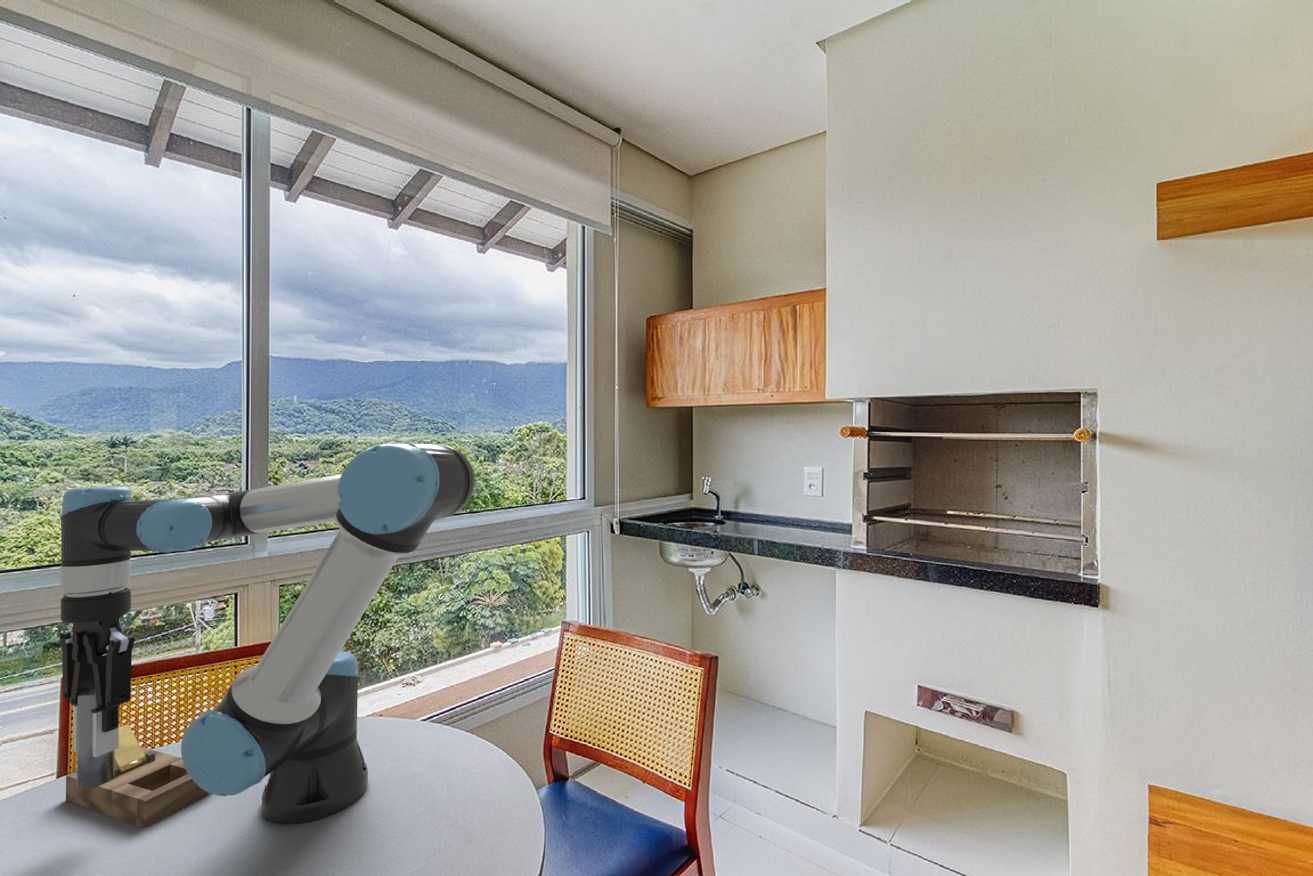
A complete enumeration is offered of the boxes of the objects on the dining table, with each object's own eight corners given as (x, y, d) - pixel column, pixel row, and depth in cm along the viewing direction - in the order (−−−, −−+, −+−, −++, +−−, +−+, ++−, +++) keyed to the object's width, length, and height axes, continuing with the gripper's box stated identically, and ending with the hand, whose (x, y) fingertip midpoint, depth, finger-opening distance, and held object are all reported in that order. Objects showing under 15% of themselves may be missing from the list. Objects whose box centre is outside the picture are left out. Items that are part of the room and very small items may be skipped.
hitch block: (214, 791, 97) (215, 760, 97) (144, 828, 88) (145, 793, 88) (138, 768, 104) (138, 739, 104) (65, 800, 94) (66, 768, 95)
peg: (120, 776, 87) (121, 688, 87) (87, 791, 83) (88, 699, 83) (104, 771, 88) (104, 685, 89) (70, 786, 84) (71, 696, 85)
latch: (144, 763, 98) (147, 760, 98) (118, 775, 95) (121, 771, 95) (125, 727, 100) (128, 724, 100) (99, 737, 97) (102, 733, 97)
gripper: (163, 588, 87) (162, 746, 86) (93, 581, 93) (92, 729, 92) (101, 601, 80) (100, 773, 79) (29, 592, 86) (28, 753, 85)
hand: (96, 749), depth 86 cm, fingers closed on peg, 4 cm apart
